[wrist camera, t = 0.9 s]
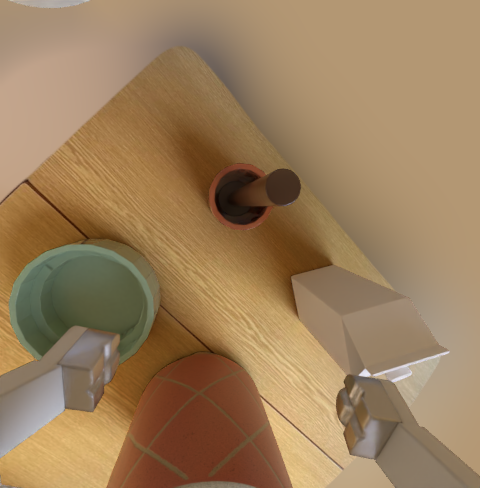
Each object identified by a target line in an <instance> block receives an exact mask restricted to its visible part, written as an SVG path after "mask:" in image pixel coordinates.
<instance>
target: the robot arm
mask: <svg viewBox="0 0 480 488" xmlns="http://www.w3.org/2000/svg"><path fill="white" fill-rule="evenodd" d="M119 343H120V335H119V334H117V333H113V332H108V331H103V330H98V329H93V328H86V327H81V326H76V325H75V326H73V327H71V328H70V329H69V330H68V331H67V332H66V333H65V334H64V335H63V336H62V337H61V338H60V339H59V340H58V341H57V342H56V344H55V345H54V346H53V347H52V348H51V349H50V350H49V351H48V352H47V353H46V354H45V355H44V356H43V357H42V358H41V359H40V360H39V361H32V362H30V363H27V364H25V365H23V366H21V367H19V368H16V369H14V370H12V371H10V372H7V373H5V374H3V375H1V376H0V458H1V457H3V456H4V455H5V454H7V453H8V452H9V451H11V450H12V449H13V448H15V447H16V446H17V445H19V444H20V443H22V442H23V441H24V440H26V439H27V438H28V437H30V436H31V435H32V434H34V433H35V432H36V431H38V430H39V429H40V428H42V427H43V426H44V425H46V424H47V423H48V422H50V421H51V420H53V419H54V418H55V417H57V416H58V415H59V414H61V413H62V412H63V411H65V409H72V410H80V411H87V412H93V411H94V409H95V408H96V406H97V404H98V403H99V401H100V399H101V397H102V396H103V394H104V385H106V384H107V383H109V382H110V381H111V380H112V378H113V376H114V375H115V372H116V370H117V367H118V364H119V359H120V352H119V351H118V349H117V347H118V345H119ZM344 384H345V387H344V388H343V389H341V390H340V391H339V393H338V395H337V400H336V409H337V415H338V418H339V420H340V422H341V423H342V424H343V425H344V426H345V427H346V428H345V430H344V433H343V434H344V437H345V440H346V444H347V447H348V450H349V453H350V455H354V456H359V457H364V458H369V459H374V460H376V463H377V464H378V465H379V467H380V468H381V469H382V471H383V472H384V473H385V475H386V476H387V477H388V479H389V480H390V481H391V483H392V484H393V485H394V486H395V488H480V476H479V475H478V474H477V473H476V472H474V471H473V470H472V469H471V468H470V467H469V466H468V465H467V464H465V463H464V462H463V461H462V460H461V459H460V458H459V457H457V456H456V455H455V454H454V453H453V452H452V451H451V450H449V449H448V448H447V447H446V446H445V445H443V443H441V442H440V441H439V440H438V439H437V438H436V437H435V436H433V435H432V434H431V433H430V432H429V431H428V430H427V429H425V428H424V427H420V426H419V425H418V423H417V421H416V420H415V418H414V416H413V415H412V413H411V411H410V409H409V408H408V406H407V404H406V403H405V401H404V399H403V398H402V396H401V394H400V392H399V391H398V389H397V387H396V386H395V384H394V383H393V382H392V381H389V380H382V379H375V378H370V377H364V376H358V375H352V374H349V375H347V376H346V378H345V380H344ZM0 488H21V487H15V486H8V485H2V484H1V476H0Z"/></svg>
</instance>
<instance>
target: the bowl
mask: <svg viewBox="0 0 480 488" xmlns="http://www.w3.org/2000/svg"><path fill="white" fill-rule="evenodd" d="M159 306H160V285H159V282H158V280H157V277H156V274H155V271H154V270H153V268H152V267H151V266H150V264H149V263H148V262H147V261H146V259H145V258H144V257H143V256H142V255H141V254H140V253H138V252H137V251H135V250H134V249H132V248H131V247H129V246H128V245H126V244H122V243H119V242H116V241H112V240H109V239H86V240H82V241H78V242H75V243H71V244H68V245H64V246H61V247H58V248H55V249H51V250H48V251H46V252H44V253H42V254H41V255H40V256H38V257H37V258H35V259H34V260H32V261H31V262H30V263H28V264H27V265H26V266H25V268H24V269H23V271H22V272H21V273H20V275H19V276H18V278H17V279H16V280H15V282H14V284H13V288H12V292H11V296H10V299H9V313H10V322H11V326H12V328H13V330H14V332H15V334H16V336H17V338H18V340H19V342H20V344H21V345H22V346H23V347H24V348H25V349H26V350H27V351H28V352H29V353H30V354H31V355H32V356H33V357H34V358H36V359H37V360H40V359H41V358H42V357H43V356H44V355H45V354H46V353H47V352H48V351H49V350H50V349H51V348H52V347H53V346H54V345H55V344H56V342H57V341H58V340H59V339H60V338H61V337H62V336H63V335H64V334H65V333H66V332H67V331H68V330H69V329H70V328H71V327H73V326H75V325H76V326H81V327H86V328H93V329H98V330H103V331H108V332H113V333H117V334H119V335H120V343H119V345H118V347H117V349H118V351H119V352H120V359H119V364H118V365H120V364H122V363H123V362H124V361H126V360H127V359H128V358H130V357H131V356H133V355H134V354H135V353H136V352H137V351H138V350H139V348H140V347H141V346H142V344H143V343H144V341H145V340H146V339H147V337H148V335H149V333H150V330H151V328H152V326H153V323H154V321H155V318H156V315H157V312H158V309H159Z"/></svg>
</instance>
